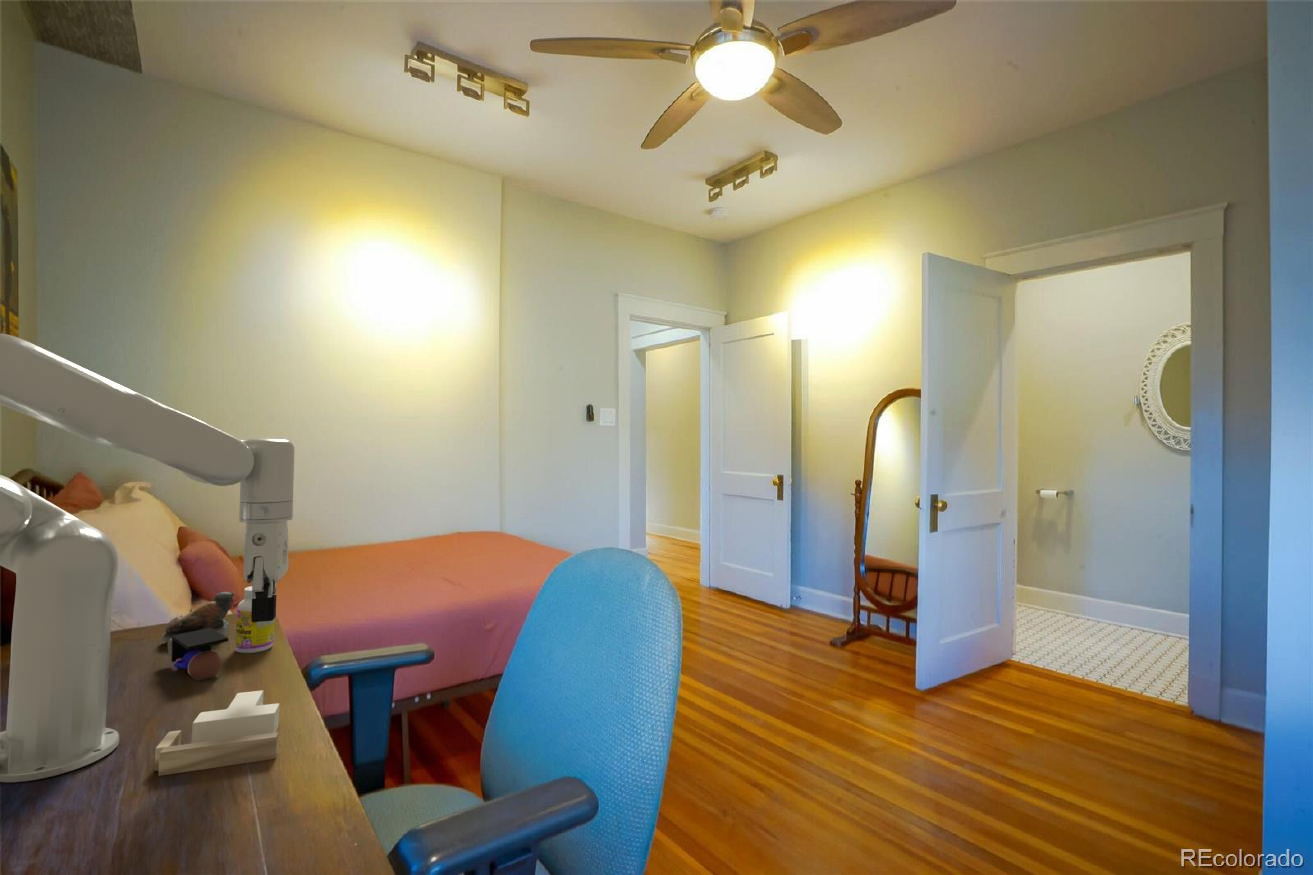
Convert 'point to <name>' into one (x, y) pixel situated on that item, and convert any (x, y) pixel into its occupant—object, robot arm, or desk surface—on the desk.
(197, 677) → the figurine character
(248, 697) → the t block
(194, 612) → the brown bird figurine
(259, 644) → the supplement bottle
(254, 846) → the desk surface
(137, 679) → the desk surface
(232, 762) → the corner stop
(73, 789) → the desk surface
